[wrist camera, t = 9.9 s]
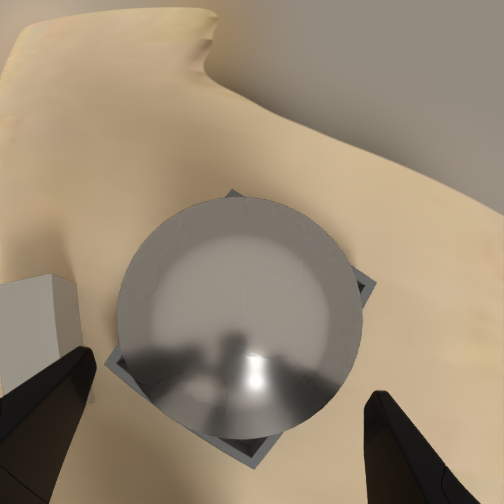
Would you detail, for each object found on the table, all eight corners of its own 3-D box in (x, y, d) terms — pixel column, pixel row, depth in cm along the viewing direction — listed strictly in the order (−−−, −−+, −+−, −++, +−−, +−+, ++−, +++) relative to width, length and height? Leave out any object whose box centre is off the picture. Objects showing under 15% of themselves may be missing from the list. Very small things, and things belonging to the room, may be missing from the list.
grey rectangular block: (35, 402, 19) (6, 408, 15) (22, 295, 22) (-7, 286, 18) (95, 401, 20) (69, 409, 16) (78, 284, 22) (51, 272, 18)
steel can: (235, 403, 19) (224, 485, 7) (170, 325, 21) (74, 293, 8) (313, 338, 21) (408, 323, 8) (247, 263, 22) (253, 155, 10)
